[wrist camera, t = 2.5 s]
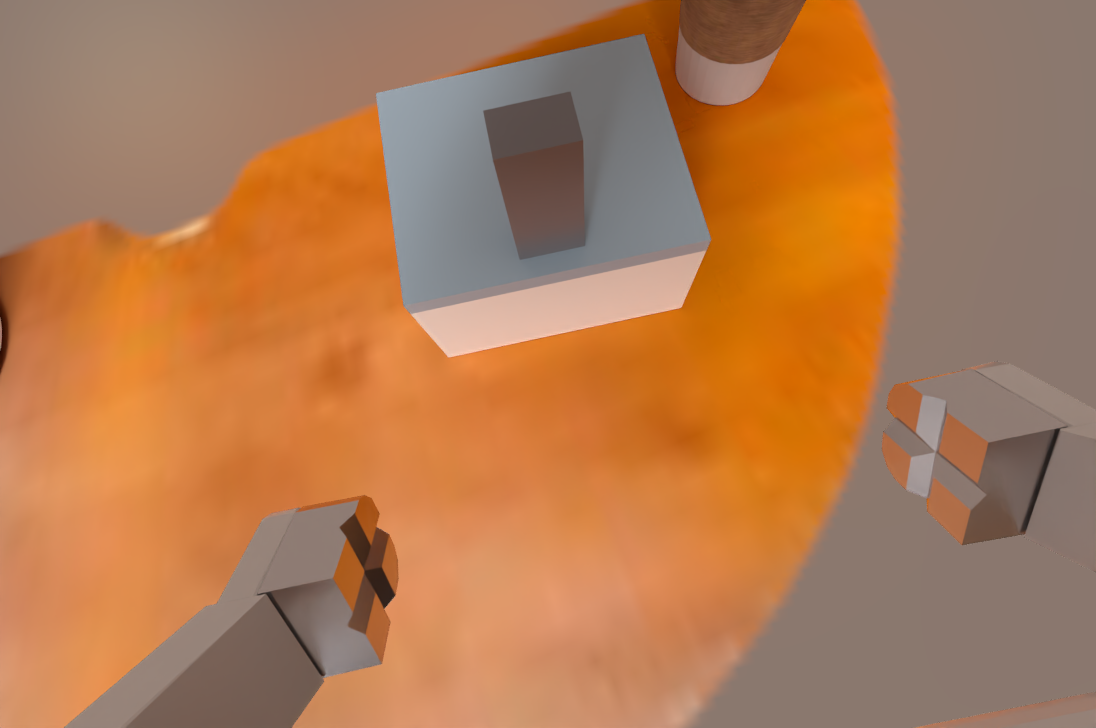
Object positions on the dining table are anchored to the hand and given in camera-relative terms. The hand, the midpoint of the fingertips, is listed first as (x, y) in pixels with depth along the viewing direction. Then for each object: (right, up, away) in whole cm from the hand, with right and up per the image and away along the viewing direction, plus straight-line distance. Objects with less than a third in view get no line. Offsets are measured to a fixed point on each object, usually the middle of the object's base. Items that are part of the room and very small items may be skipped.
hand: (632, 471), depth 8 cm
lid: (-2, +11, +18) cm, 21 cm away
